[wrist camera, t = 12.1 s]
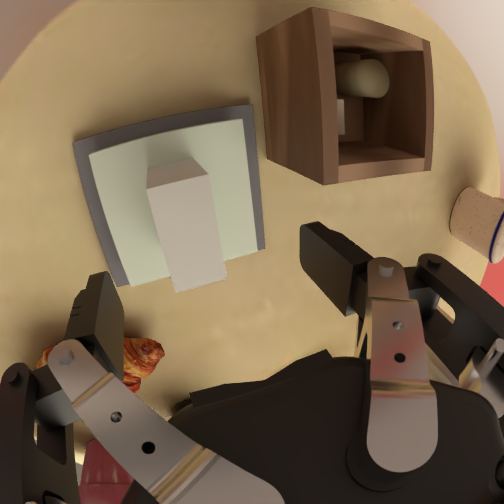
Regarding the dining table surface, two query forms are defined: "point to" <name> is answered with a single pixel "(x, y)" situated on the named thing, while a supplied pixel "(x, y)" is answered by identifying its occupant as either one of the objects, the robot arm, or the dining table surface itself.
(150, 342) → the croissant
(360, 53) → the walnut box
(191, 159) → the lid
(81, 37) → the dining table surface
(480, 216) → the teacup with lid
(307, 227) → the robot arm
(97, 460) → the plant pot
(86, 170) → the rubber pad
